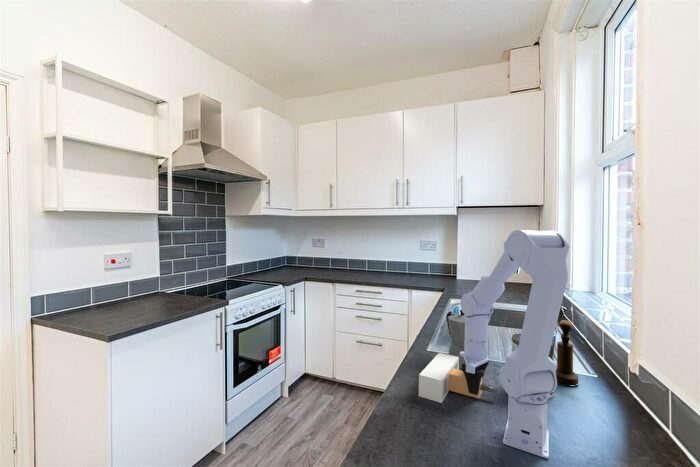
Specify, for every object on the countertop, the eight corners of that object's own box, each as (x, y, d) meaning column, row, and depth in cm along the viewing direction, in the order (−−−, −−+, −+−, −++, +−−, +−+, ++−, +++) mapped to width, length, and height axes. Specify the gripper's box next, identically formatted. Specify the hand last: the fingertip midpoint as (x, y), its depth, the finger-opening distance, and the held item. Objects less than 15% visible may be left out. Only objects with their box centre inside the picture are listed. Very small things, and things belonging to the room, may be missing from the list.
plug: (496, 403, 79) (496, 385, 79) (444, 389, 86) (444, 372, 86) (498, 396, 82) (498, 379, 82) (448, 383, 89) (448, 367, 89)
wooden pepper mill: (554, 374, 97) (555, 316, 96) (580, 381, 92) (581, 320, 92) (548, 381, 92) (550, 320, 92) (575, 389, 87) (577, 325, 87)
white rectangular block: (441, 403, 79) (442, 380, 79) (418, 396, 83) (419, 374, 83) (458, 375, 95) (459, 357, 94) (438, 370, 98) (439, 352, 98)
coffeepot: (487, 371, 98) (488, 314, 98) (461, 374, 95) (462, 315, 95) (458, 352, 113) (459, 302, 113) (434, 355, 110) (435, 304, 110)
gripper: (466, 329, 92) (465, 375, 92) (453, 344, 79) (452, 397, 80) (492, 333, 88) (491, 381, 88) (483, 350, 76) (482, 405, 76)
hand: (475, 389), depth 84 cm, fingers closed on plug, 4 cm apart
